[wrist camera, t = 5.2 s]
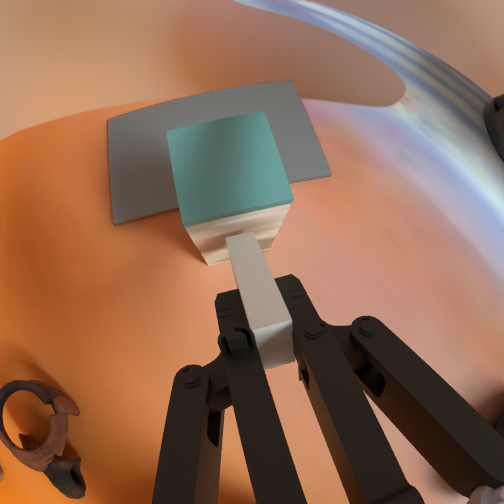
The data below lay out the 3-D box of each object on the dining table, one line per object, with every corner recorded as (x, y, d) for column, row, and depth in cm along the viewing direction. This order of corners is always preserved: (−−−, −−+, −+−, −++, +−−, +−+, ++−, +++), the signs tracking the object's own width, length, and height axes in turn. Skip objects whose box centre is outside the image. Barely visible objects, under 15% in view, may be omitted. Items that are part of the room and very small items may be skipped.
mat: (291, 82, 29) (291, 79, 28) (330, 176, 26) (331, 173, 26) (109, 122, 27) (108, 119, 26) (115, 225, 25) (113, 224, 24)
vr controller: (13, 418, 20) (-28, 398, 14) (67, 379, 26) (35, 351, 20) (73, 508, 16) (37, 516, 10) (134, 467, 22) (113, 467, 16)
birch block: (252, 196, 26) (264, 111, 14) (267, 251, 25) (293, 198, 13) (196, 209, 25) (166, 131, 14) (208, 266, 24) (182, 223, 13)
